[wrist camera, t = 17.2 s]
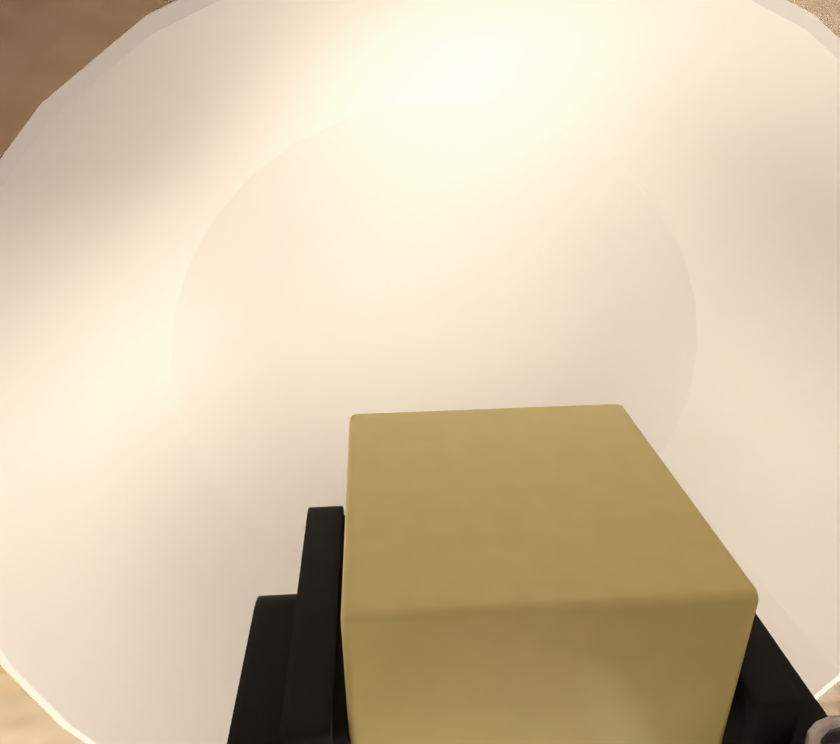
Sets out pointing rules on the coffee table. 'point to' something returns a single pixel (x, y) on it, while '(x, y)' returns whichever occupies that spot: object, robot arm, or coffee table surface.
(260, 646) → the robot arm
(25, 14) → the coffee table surface
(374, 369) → the bowl
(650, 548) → the butter
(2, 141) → the coffee table surface
